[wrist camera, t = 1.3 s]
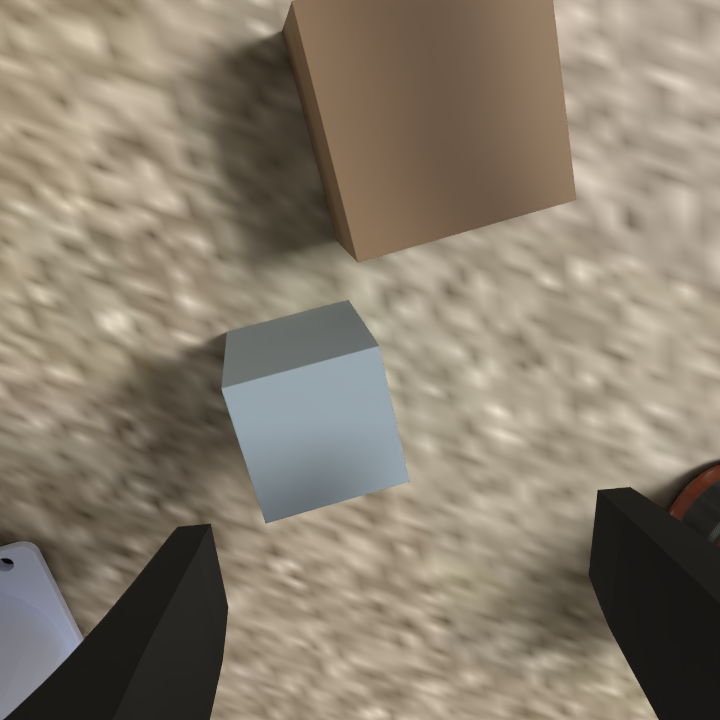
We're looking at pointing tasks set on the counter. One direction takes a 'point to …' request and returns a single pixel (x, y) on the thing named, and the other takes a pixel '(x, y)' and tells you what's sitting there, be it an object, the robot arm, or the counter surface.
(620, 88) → the counter surface
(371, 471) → the blue block
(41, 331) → the counter surface
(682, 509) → the supplement bottle
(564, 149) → the walnut base
